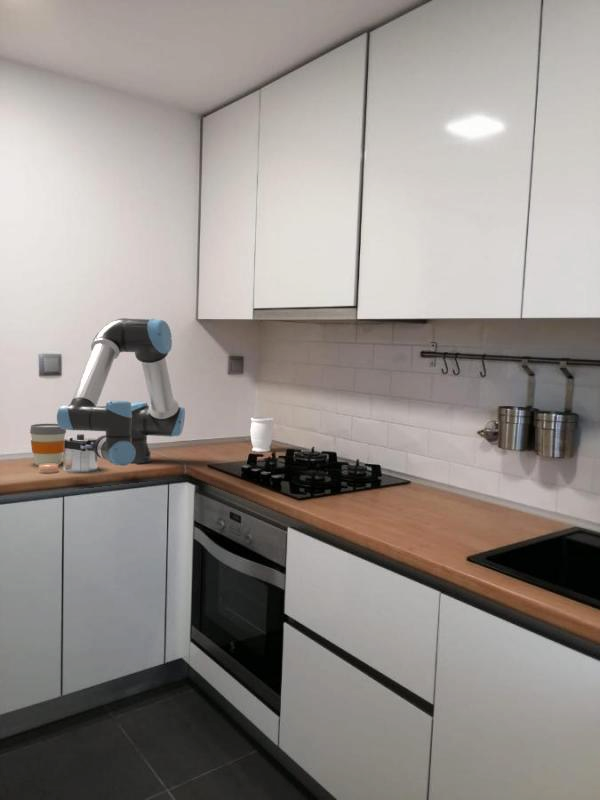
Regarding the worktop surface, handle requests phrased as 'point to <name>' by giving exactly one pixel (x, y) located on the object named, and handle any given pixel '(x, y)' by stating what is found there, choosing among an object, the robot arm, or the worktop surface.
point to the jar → (261, 433)
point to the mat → (81, 472)
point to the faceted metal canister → (79, 458)
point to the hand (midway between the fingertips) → (88, 440)
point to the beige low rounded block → (48, 468)
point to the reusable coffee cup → (47, 443)
